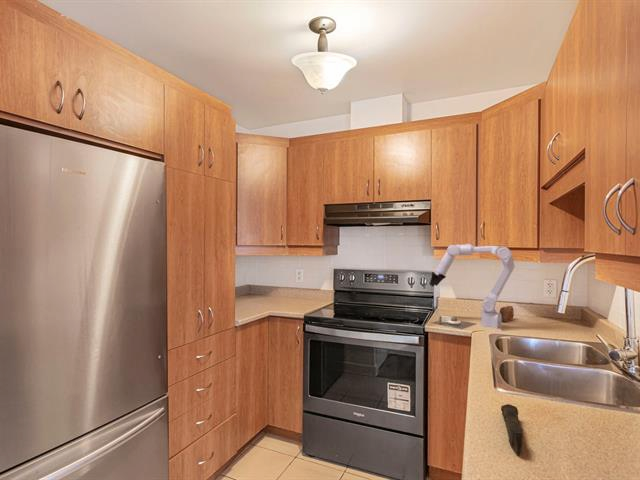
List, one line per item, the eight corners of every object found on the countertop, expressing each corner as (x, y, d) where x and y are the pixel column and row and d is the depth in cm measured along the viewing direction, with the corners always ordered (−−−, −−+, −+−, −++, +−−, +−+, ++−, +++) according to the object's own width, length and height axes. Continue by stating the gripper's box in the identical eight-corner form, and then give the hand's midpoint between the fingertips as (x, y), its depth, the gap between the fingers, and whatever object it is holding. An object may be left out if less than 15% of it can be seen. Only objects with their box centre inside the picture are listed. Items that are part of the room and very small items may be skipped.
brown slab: (504, 323, 209) (504, 308, 209) (498, 322, 211) (498, 307, 211) (514, 319, 219) (514, 305, 219) (508, 318, 222) (508, 304, 222)
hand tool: (501, 417, 99) (501, 399, 99) (517, 420, 98) (518, 402, 98) (503, 454, 82) (504, 433, 82) (524, 459, 81) (524, 437, 81)
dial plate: (477, 325, 202) (477, 323, 202) (462, 331, 189) (462, 328, 189) (446, 320, 214) (446, 318, 214) (430, 325, 202) (430, 322, 202)
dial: (460, 322, 204) (460, 316, 204) (461, 324, 197) (461, 318, 197) (439, 320, 207) (439, 314, 207) (439, 323, 200) (439, 317, 200)
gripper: (441, 260, 215) (430, 280, 218) (435, 260, 203) (423, 282, 206) (452, 267, 212) (441, 287, 215) (446, 267, 199) (434, 288, 202)
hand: (433, 285), depth 210 cm, fingers open, 7 cm apart
